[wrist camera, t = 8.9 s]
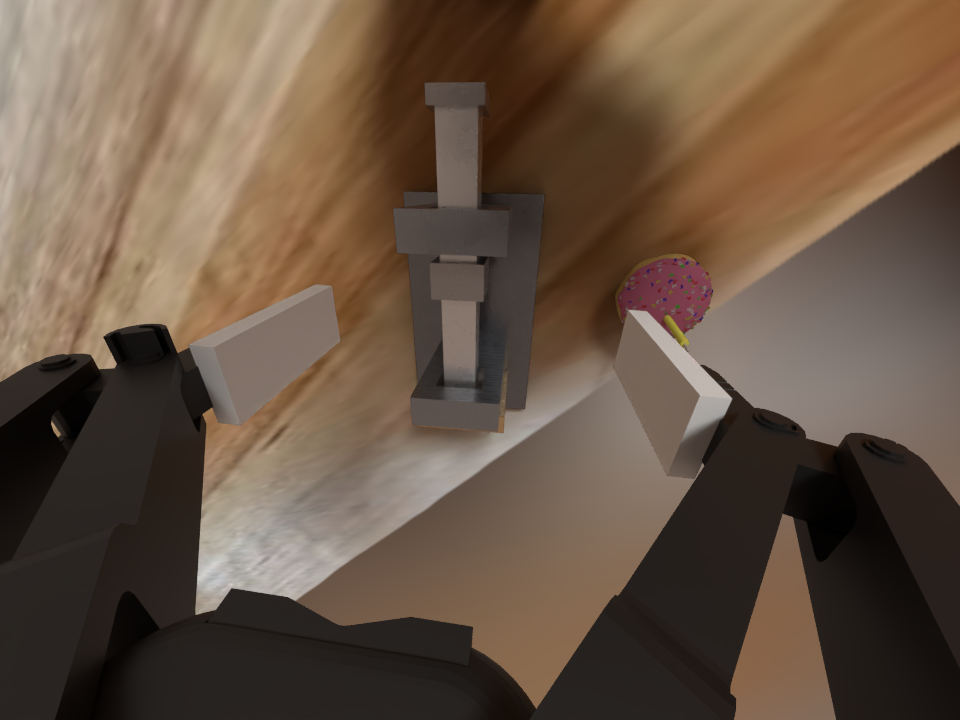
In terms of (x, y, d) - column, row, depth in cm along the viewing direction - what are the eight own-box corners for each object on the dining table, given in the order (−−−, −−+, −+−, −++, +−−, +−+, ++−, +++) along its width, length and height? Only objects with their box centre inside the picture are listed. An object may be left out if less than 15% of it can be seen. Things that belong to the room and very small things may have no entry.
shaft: (435, 98, 26) (420, 81, 22) (493, 98, 26) (488, 81, 22) (445, 373, 37) (436, 395, 33) (485, 376, 36) (481, 398, 32)
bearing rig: (407, 191, 35) (349, 191, 23) (543, 194, 34) (556, 195, 22) (422, 395, 46) (387, 466, 34) (525, 402, 45) (526, 479, 33)
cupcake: (674, 328, 39) (733, 380, 28) (598, 321, 39) (627, 370, 29) (700, 249, 35) (780, 275, 24) (615, 244, 35) (656, 266, 25)
